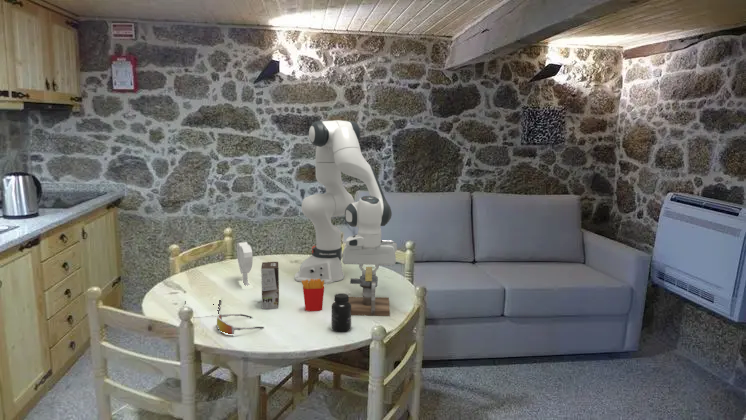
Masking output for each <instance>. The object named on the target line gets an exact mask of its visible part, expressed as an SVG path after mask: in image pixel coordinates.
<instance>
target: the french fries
mask: <svg viewBox="0 0 746 420" xmlns="http://www.w3.org/2000/svg"><path fill="white" fill-rule="evenodd" d="M314 281H315V282H314ZM301 284H302V292H303V300H304V309H305V310H304V311H306V312H320V311H323V303H324V296H325V295H324V293H325V284H324V280H323V281H322V282H321V280H320V279H315V280H314V279H310V281H309V282H308V280H305V281H302V282H301Z"/></svg>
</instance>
